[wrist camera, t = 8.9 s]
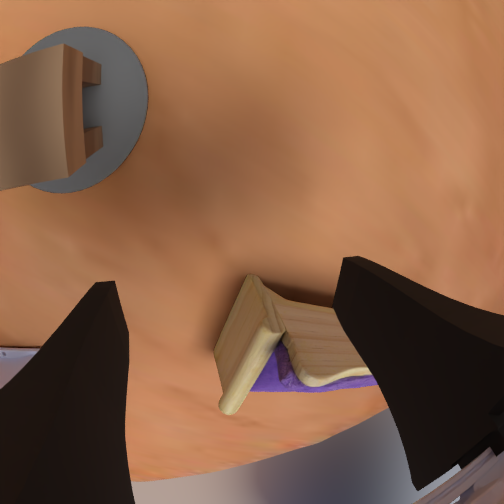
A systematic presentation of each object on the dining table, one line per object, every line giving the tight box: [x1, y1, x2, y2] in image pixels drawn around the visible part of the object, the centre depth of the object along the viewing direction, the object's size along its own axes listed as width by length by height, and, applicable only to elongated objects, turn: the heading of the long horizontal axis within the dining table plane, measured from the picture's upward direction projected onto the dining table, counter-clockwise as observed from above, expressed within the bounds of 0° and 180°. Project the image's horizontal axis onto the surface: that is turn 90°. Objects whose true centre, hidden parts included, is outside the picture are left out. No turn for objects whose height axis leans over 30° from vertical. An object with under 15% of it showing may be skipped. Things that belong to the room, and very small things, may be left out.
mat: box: [23, 27, 148, 193], centre depth 13 cm, size 10×10×1 cm
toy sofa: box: [214, 274, 378, 415], centre depth 23 cm, size 21×9×10 cm, turn 68°
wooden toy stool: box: [0, 44, 103, 191], centre depth 10 cm, size 5×5×6 cm
